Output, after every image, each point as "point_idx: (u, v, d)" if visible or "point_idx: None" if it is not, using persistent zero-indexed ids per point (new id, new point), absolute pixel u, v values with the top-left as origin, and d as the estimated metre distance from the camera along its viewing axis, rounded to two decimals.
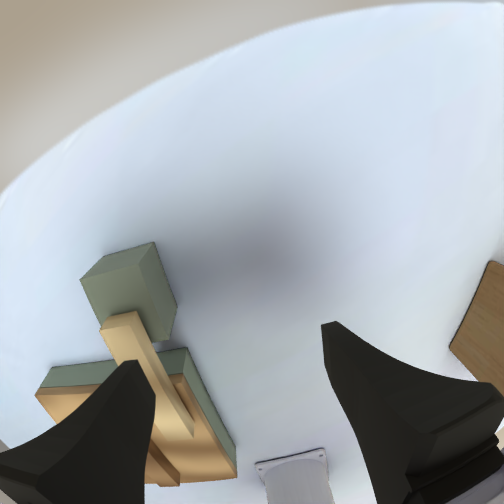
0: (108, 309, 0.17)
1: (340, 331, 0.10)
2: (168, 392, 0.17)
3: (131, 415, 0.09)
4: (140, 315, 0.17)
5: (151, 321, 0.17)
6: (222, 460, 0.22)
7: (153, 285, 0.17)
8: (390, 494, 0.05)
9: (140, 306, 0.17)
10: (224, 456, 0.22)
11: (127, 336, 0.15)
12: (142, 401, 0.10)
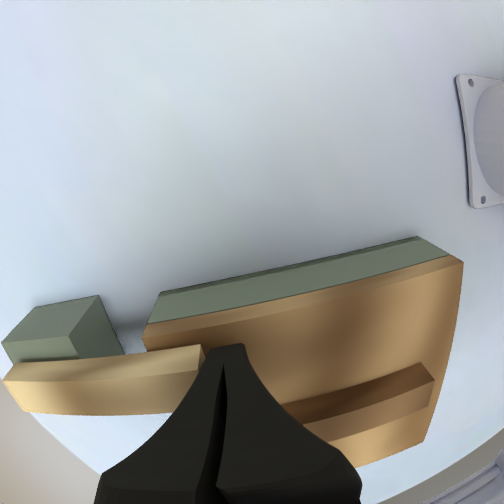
0: None
1: (235, 355, 0.10)
2: (89, 373, 0.10)
3: None
4: (48, 358, 0.11)
5: (51, 348, 0.11)
6: (394, 289, 0.11)
7: (31, 329, 0.12)
8: None
9: (38, 354, 0.11)
10: (386, 282, 0.11)
11: (15, 388, 0.10)
12: None
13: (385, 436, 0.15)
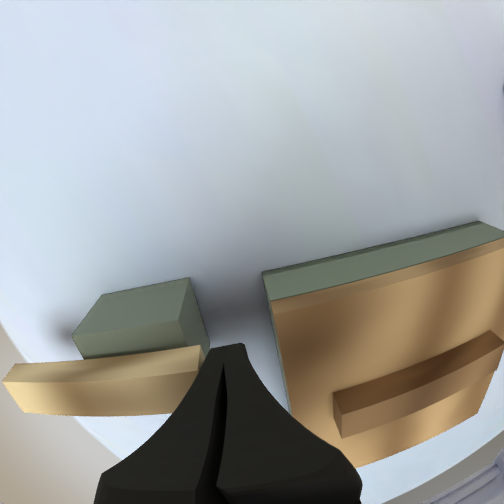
0: None
1: (235, 355, 0.10)
2: (89, 374, 0.10)
3: None
4: (141, 349, 0.11)
5: (148, 337, 0.11)
6: (482, 260, 0.11)
7: (113, 317, 0.12)
8: None
9: (127, 346, 0.11)
10: (476, 255, 0.11)
11: (14, 389, 0.10)
12: None
13: (453, 406, 0.15)
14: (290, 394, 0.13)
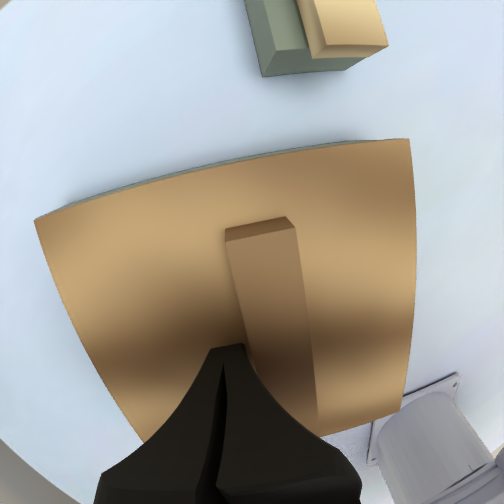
0: None
1: (235, 355, 0.10)
2: None
3: None
4: None
5: None
6: (403, 364, 0.13)
7: None
8: None
9: None
10: None
11: None
12: None
13: None
14: (293, 154, 0.09)
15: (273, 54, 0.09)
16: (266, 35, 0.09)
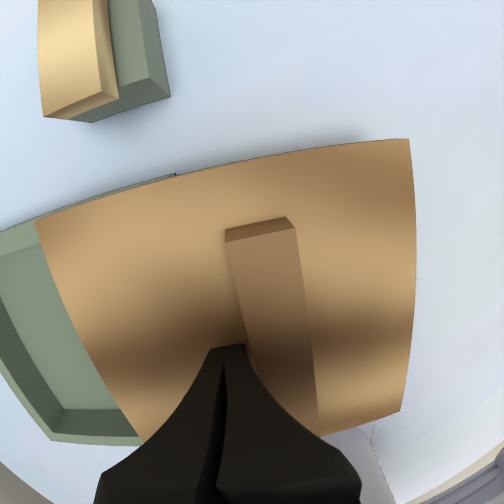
0: None
1: (235, 355, 0.10)
2: None
3: None
4: (111, 38, 0.08)
5: (127, 46, 0.08)
6: (403, 364, 0.13)
7: (145, 14, 0.08)
8: None
9: (116, 24, 0.07)
10: None
11: None
12: None
13: None
14: (293, 154, 0.09)
15: None
16: None
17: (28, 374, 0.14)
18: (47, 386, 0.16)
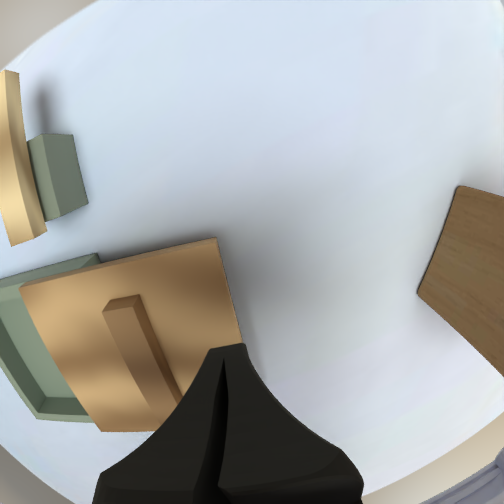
0: None
1: (236, 355, 0.10)
2: (18, 157, 0.12)
3: None
4: (38, 189, 0.14)
5: (47, 195, 0.14)
6: None
7: (56, 162, 0.15)
8: None
9: (39, 179, 0.14)
10: None
11: None
12: None
13: (112, 404, 0.19)
14: (138, 260, 0.16)
15: None
16: None
17: (21, 372, 0.21)
18: (35, 381, 0.23)
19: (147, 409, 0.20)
